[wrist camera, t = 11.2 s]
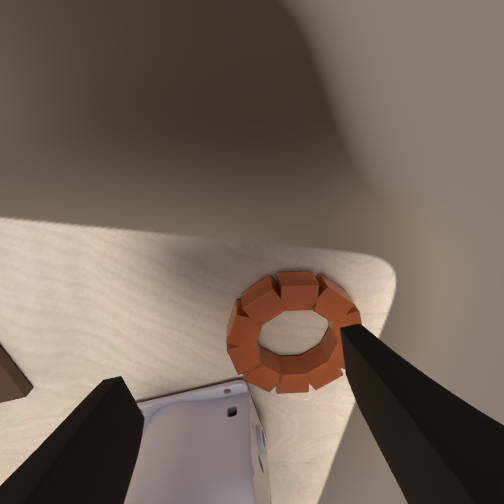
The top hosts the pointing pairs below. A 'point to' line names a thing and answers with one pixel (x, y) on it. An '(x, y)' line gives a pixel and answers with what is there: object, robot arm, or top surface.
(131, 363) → the top surface
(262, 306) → the ring
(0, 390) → the post stand
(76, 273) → the top surface
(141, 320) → the top surface
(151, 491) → the robot arm
